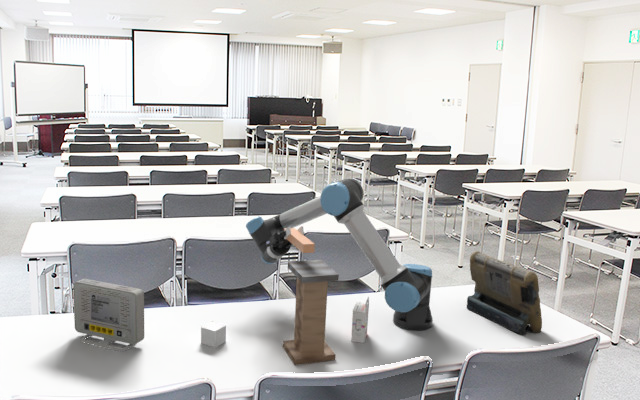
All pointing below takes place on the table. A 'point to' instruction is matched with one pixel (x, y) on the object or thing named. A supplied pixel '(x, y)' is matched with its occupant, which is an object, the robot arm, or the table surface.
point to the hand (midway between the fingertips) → (296, 230)
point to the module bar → (301, 241)
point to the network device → (109, 313)
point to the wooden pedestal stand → (310, 312)
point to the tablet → (505, 294)
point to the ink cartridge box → (360, 322)
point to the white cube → (213, 334)
